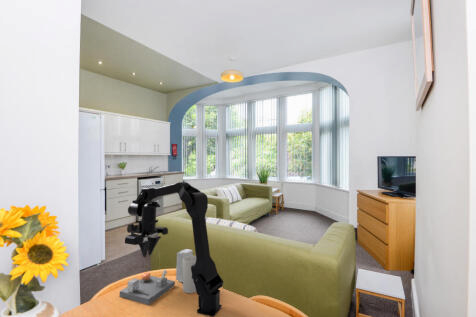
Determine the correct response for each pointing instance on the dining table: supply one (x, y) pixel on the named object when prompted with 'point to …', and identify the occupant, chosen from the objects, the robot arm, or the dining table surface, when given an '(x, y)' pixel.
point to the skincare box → (181, 263)
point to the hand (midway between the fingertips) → (147, 255)
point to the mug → (188, 274)
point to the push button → (145, 276)
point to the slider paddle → (133, 285)
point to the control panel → (148, 290)
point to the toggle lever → (163, 276)
